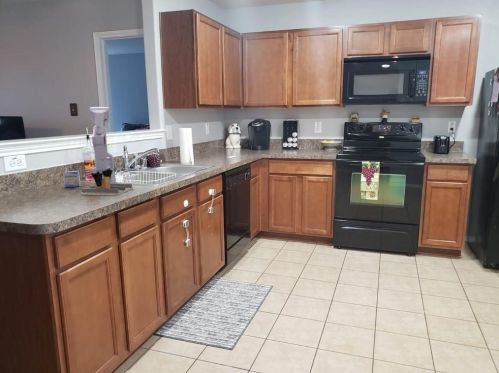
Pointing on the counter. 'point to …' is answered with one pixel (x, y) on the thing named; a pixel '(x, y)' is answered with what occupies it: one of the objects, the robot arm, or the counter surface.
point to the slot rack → (107, 190)
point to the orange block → (104, 183)
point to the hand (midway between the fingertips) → (103, 185)
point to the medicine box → (72, 179)
